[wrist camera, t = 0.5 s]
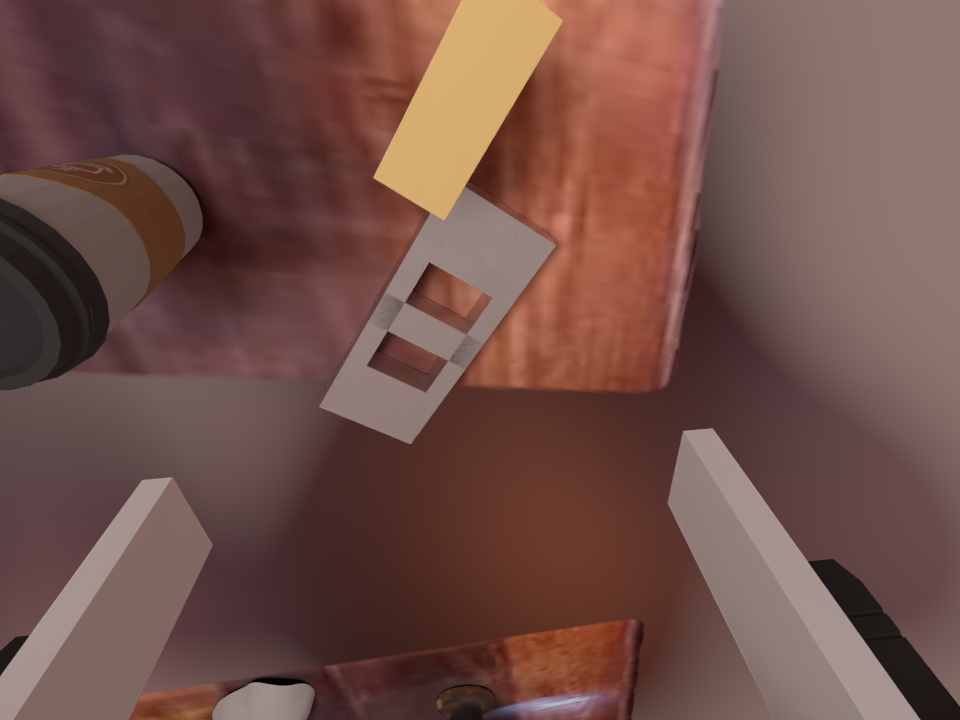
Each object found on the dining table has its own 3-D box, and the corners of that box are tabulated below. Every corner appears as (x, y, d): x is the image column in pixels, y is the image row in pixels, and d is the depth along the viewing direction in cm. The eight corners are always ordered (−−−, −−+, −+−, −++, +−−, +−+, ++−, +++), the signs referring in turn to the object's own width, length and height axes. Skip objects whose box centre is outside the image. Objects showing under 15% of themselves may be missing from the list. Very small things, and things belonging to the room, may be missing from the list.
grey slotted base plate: (412, 424, 42) (410, 444, 40) (325, 387, 39) (318, 406, 37) (548, 233, 33) (556, 245, 31) (450, 169, 30) (450, 177, 28)
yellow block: (443, 174, 31) (444, 220, 22) (393, 141, 29) (373, 177, 21) (524, 31, 27) (563, 20, 18) (470, -13, 26) (484, -47, 17)
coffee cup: (214, 148, 29) (39, 220, 16) (229, 275, 33) (99, 409, 21) (62, 123, 28) (-255, 180, 15) (98, 258, 32) (-125, 390, 19)
